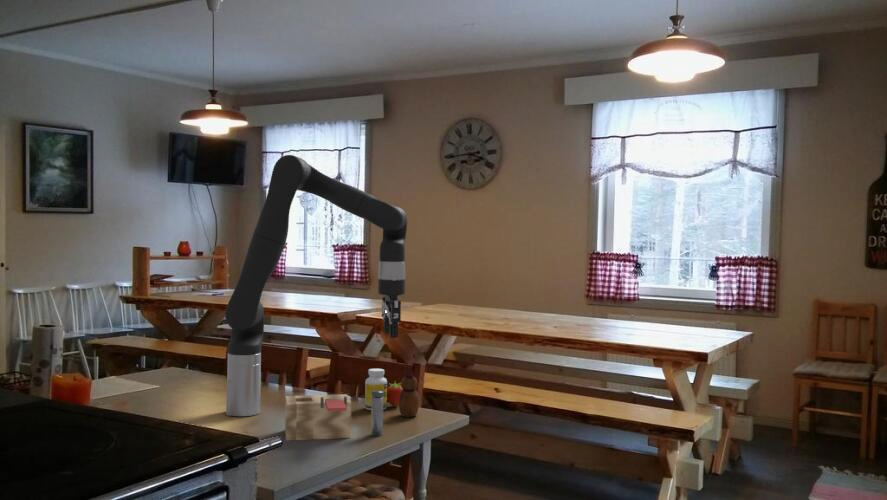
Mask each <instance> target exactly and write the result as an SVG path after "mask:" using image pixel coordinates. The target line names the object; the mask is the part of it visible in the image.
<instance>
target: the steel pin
mask: <svg viewBox="0 0 887 500" xmlns="http://www.w3.org/2000/svg"><path fill="white" fill-rule="evenodd" d="M383 396H384V391H381V390H375V391H372V408H371V410H370V411H371V414H370V415H371V416H370V417H371V419H370V420H371V422H370V424H371V425H370V436H371V437H381V436H383V433H384V432H383V431H384V410H383Z"/></svg>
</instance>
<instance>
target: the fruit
mask: <svg viewBox="0 0 887 500" xmlns="http://www.w3.org/2000/svg"><path fill="white" fill-rule="evenodd" d="M388 384H389V386H387V401H388V403H389V404H390V405H391V406H393V407H395V408H397V407H399V395H400V392H401V391H402V390H403V388H402V387H401V382H399V383H397V382H396V381H394V383H389V382H388Z"/></svg>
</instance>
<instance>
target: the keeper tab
mask: <svg viewBox="0 0 887 500" xmlns="http://www.w3.org/2000/svg"><path fill="white" fill-rule="evenodd" d="M325 404H326V407H327V410H328V411H347V407H346V405H345V403H344V401H343V400H342V399H326V400H325Z"/></svg>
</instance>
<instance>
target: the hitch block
mask: <svg viewBox="0 0 887 500" xmlns="http://www.w3.org/2000/svg"><path fill="white" fill-rule="evenodd" d="M326 399H342V400H343V401H344V403H345V405H346V407H347V411H328V410H327V407H326V404H325V400H326ZM351 401H352V400H351V399H350V397H349V395H348V394H344V393H343V394H314V395H308V394H307V395H285V406H284V407H285V414H284V415H285V416H284V417H285V418H284V421H285V422H284V423H285V424H284V431H285V432H284V433H285V441H305V440H308V441H309V440H330V439H331V440H332V439H333V440H334V439H351V434H352V433H351V431H352V402H351Z"/></svg>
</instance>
